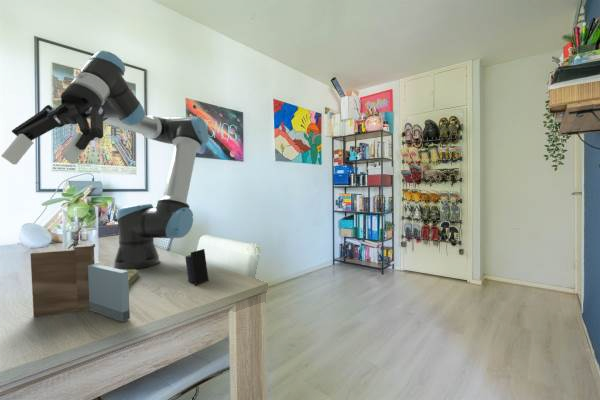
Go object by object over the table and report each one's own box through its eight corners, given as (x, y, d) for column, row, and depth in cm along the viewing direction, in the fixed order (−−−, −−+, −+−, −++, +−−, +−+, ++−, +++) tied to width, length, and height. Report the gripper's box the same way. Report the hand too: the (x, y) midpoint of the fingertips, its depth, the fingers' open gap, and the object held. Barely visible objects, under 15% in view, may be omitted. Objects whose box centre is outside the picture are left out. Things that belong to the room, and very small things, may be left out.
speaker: (213, 281, 88) (209, 248, 88) (195, 286, 84) (191, 252, 84) (202, 277, 94) (199, 247, 94) (185, 282, 90) (182, 251, 90)
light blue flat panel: (89, 309, 68) (87, 265, 67) (96, 307, 69) (94, 263, 69) (122, 321, 62) (121, 273, 61) (129, 318, 63) (128, 271, 63)
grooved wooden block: (39, 312, 67) (35, 247, 66) (97, 304, 72) (95, 243, 71) (32, 318, 64) (28, 250, 63) (93, 309, 69) (91, 246, 68)
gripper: (27, 84, 68) (-35, 148, 56) (123, 80, 65) (79, 146, 54) (52, 109, 74) (1, 171, 62) (140, 106, 72) (105, 170, 60)
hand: (37, 160), depth 58 cm, fingers open, 13 cm apart
